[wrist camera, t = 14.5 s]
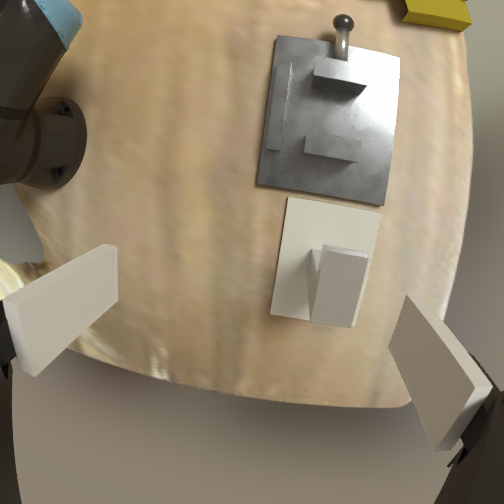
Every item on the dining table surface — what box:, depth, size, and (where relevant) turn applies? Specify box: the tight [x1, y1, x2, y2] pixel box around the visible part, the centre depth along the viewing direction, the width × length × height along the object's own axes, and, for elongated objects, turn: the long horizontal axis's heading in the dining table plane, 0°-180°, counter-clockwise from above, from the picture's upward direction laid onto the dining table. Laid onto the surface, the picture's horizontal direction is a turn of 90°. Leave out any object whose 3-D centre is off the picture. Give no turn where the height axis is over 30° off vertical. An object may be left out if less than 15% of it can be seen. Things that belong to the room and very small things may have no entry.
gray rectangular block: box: [307, 244, 369, 328], centre depth 33 cm, size 4×7×12 cm, turn 172°
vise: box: [257, 14, 400, 206], centre depth 32 cm, size 16×23×6 cm
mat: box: [270, 197, 381, 327], centre depth 40 cm, size 12×16×1 cm
